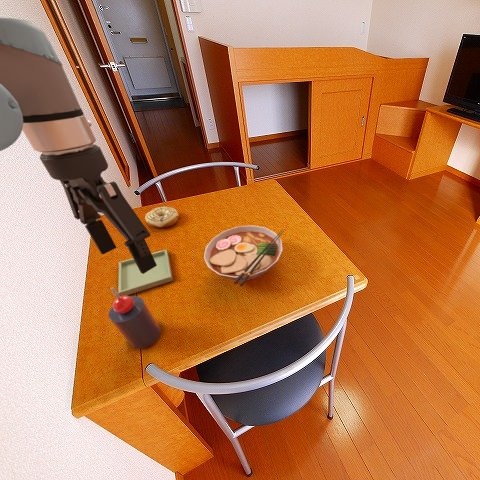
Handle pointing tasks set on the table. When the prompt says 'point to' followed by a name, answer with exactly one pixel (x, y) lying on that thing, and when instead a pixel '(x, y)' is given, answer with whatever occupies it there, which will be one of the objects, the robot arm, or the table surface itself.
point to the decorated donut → (162, 217)
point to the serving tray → (136, 281)
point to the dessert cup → (134, 320)
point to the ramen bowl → (243, 252)
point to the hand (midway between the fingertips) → (128, 259)
